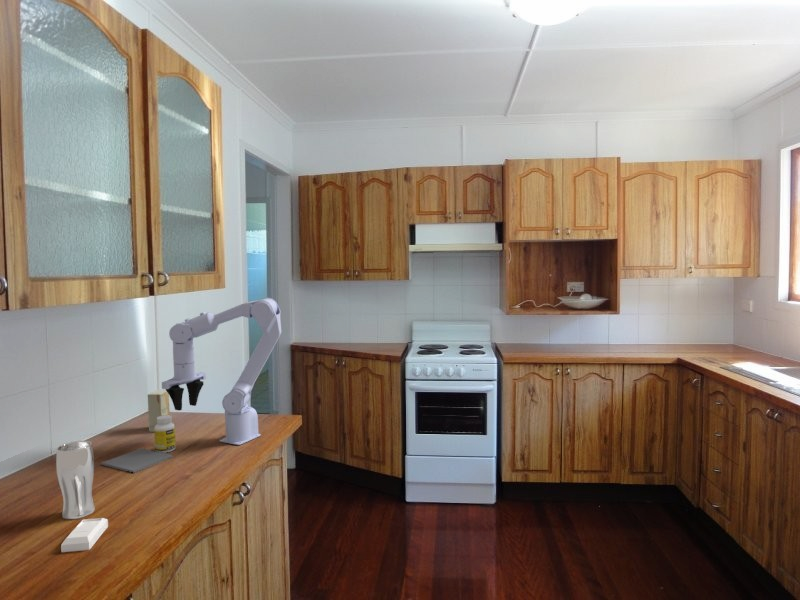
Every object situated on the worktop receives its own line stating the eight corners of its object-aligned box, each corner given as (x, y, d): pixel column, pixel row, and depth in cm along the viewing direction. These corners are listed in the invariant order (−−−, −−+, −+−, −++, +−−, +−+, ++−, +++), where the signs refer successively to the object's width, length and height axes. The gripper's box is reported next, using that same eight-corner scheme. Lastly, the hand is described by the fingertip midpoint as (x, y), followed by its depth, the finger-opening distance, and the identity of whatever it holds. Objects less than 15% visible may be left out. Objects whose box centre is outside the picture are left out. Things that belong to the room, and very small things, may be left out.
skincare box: (162, 432, 170) (160, 394, 169) (148, 432, 170) (146, 394, 169) (171, 425, 176) (169, 389, 175) (158, 426, 176) (156, 389, 176)
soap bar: (61, 554, 101) (60, 540, 101) (82, 530, 110) (81, 517, 110) (89, 551, 102) (88, 538, 101) (108, 528, 111) (107, 515, 110)
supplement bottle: (168, 454, 151) (166, 420, 150) (151, 453, 152) (149, 419, 151) (179, 447, 156) (178, 414, 155) (163, 446, 157) (161, 413, 156)
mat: (141, 450, 154) (141, 448, 154) (172, 457, 148) (172, 455, 148) (101, 464, 144) (101, 462, 144) (133, 473, 138) (133, 470, 138)
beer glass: (73, 505, 120) (68, 440, 119) (103, 505, 120) (99, 440, 119) (52, 520, 113) (47, 451, 112) (84, 520, 113) (79, 451, 112)
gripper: (193, 357, 167) (195, 400, 168) (153, 366, 154) (155, 412, 156) (210, 359, 164) (211, 402, 165) (170, 368, 151) (172, 415, 152)
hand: (185, 407), depth 160 cm, fingers open, 5 cm apart
